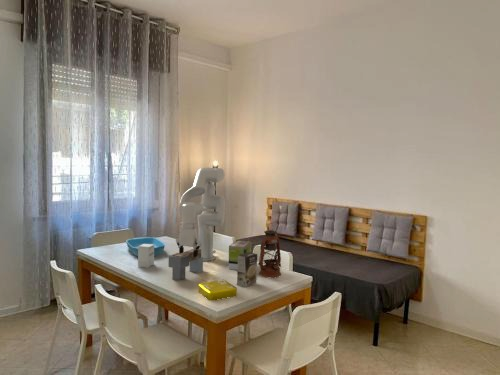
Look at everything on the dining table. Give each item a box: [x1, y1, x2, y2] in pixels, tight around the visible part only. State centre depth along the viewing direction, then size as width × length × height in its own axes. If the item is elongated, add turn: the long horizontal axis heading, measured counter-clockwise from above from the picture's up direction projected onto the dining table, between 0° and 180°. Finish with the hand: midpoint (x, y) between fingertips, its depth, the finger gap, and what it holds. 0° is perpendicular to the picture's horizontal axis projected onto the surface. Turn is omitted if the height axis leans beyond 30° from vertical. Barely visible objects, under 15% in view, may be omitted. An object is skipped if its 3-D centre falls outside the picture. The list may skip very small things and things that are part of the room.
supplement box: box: [137, 244, 155, 268], centre depth 224 cm, size 7×7×13 cm
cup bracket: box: [168, 252, 190, 281], centre depth 201 cm, size 8×8×13 cm
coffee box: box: [236, 252, 258, 288], centre depth 196 cm, size 9×6×16 cm
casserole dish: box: [125, 236, 166, 257], centre depth 257 cm, size 37×22×7 cm, turn 30°
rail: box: [175, 248, 201, 263], centre depth 209 cm, size 20×4×5 cm, turn 154°
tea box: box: [228, 240, 252, 271], centre depth 227 cm, size 15×10×15 cm
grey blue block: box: [189, 257, 204, 274], centre depth 216 cm, size 5×6×8 cm
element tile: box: [198, 279, 238, 301], centre depth 181 cm, size 15×15×5 cm
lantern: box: [257, 222, 282, 279], centre depth 213 cm, size 17×13×30 cm
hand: (188, 255), depth 209 cm, fingers open, 9 cm apart
